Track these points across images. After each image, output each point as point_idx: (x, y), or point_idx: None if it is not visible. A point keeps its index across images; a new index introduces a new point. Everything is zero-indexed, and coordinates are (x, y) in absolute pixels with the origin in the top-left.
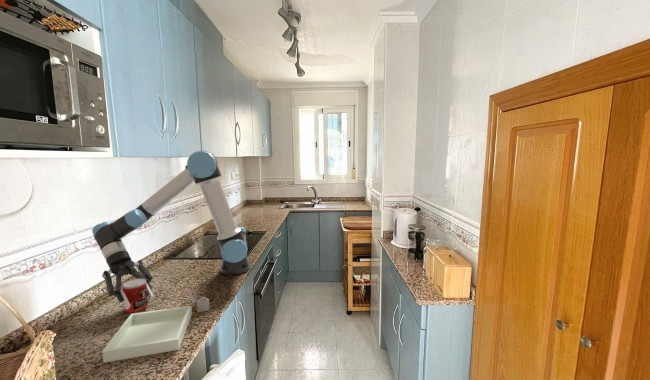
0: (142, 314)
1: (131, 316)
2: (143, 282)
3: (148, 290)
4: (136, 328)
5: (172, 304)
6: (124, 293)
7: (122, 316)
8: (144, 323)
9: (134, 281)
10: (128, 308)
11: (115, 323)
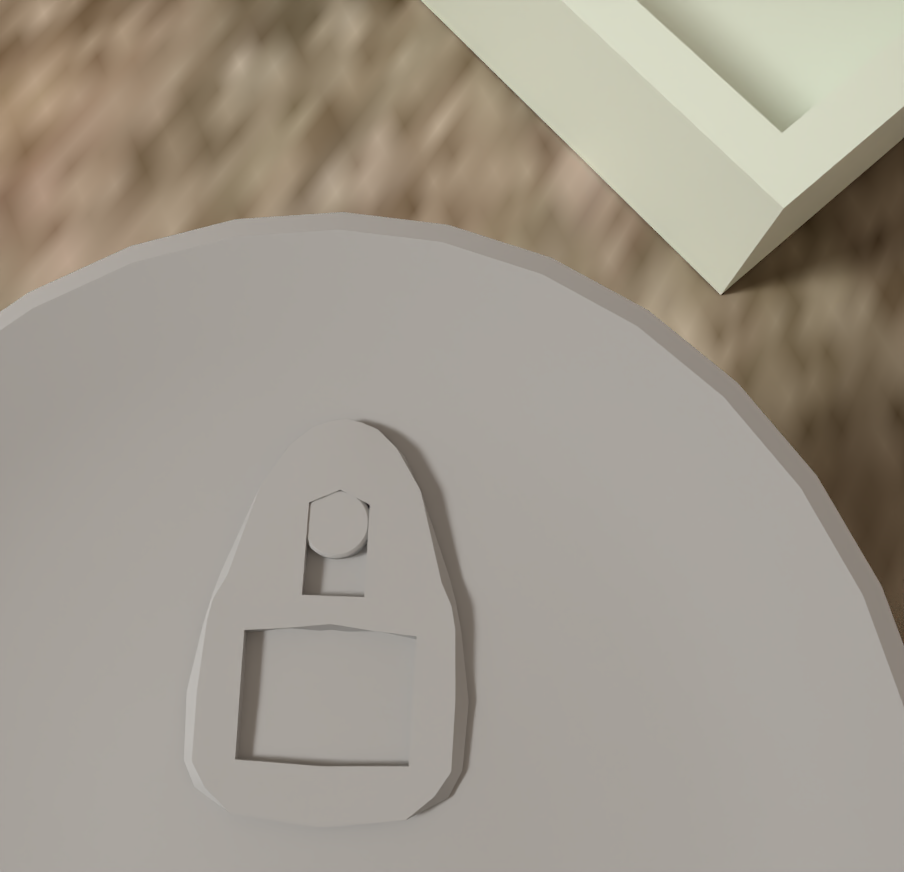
0: (657, 35)
1: (829, 105)
2: (58, 354)
3: None
4: (804, 2)
5: (25, 222)
6: None
7: None
8: (664, 24)
9: None
10: None
11: (886, 540)
